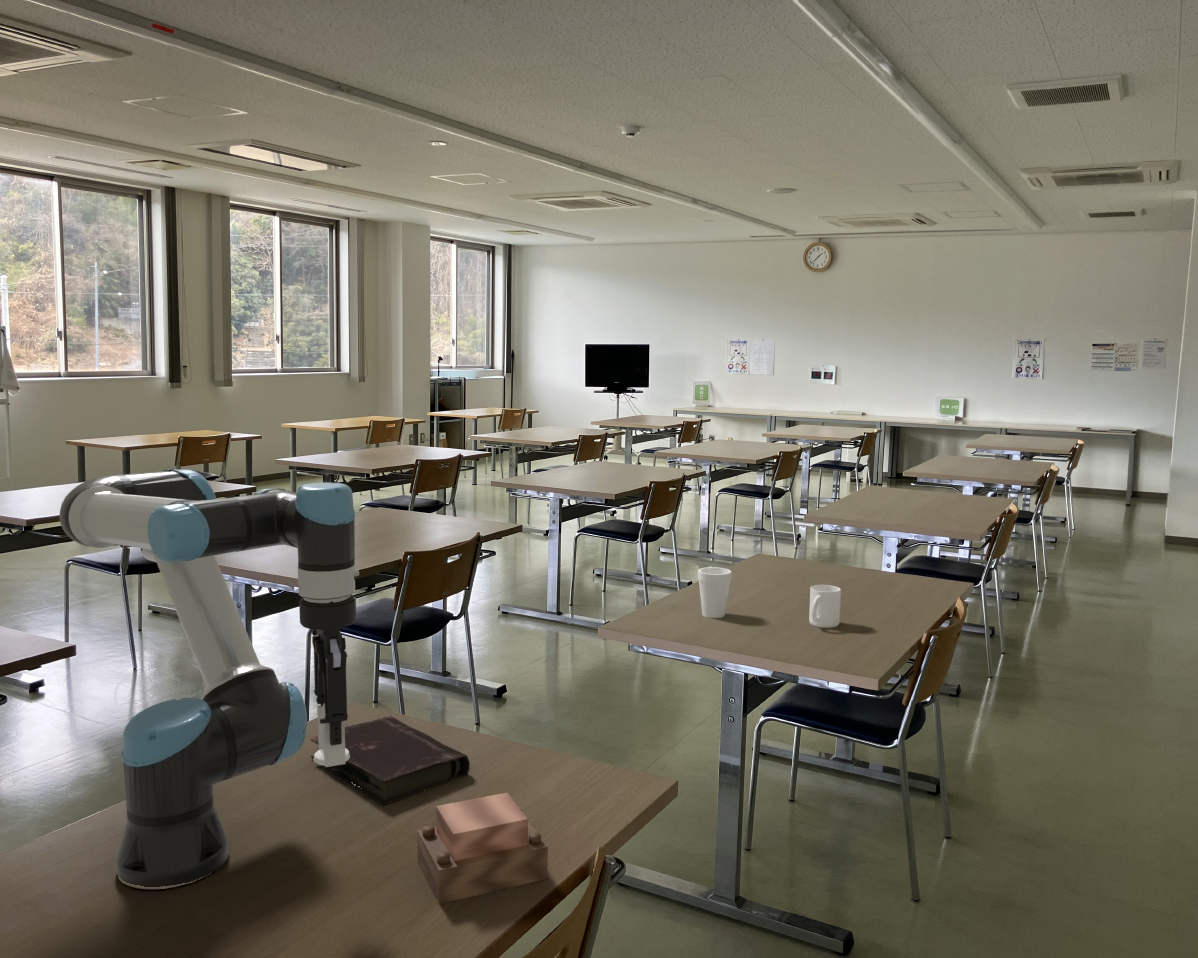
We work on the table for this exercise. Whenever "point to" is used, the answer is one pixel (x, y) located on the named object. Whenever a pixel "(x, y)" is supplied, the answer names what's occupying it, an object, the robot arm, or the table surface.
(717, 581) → the foam cup
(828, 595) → the mug
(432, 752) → the diary
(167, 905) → the table surface
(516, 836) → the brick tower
